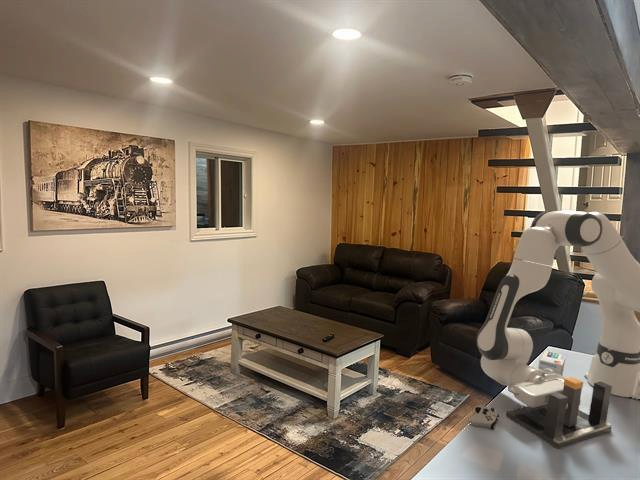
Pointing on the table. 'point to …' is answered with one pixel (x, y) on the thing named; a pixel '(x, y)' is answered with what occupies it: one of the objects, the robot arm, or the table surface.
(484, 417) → the game controller
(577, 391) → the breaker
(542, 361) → the light bulb box
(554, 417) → the grey peg stand
